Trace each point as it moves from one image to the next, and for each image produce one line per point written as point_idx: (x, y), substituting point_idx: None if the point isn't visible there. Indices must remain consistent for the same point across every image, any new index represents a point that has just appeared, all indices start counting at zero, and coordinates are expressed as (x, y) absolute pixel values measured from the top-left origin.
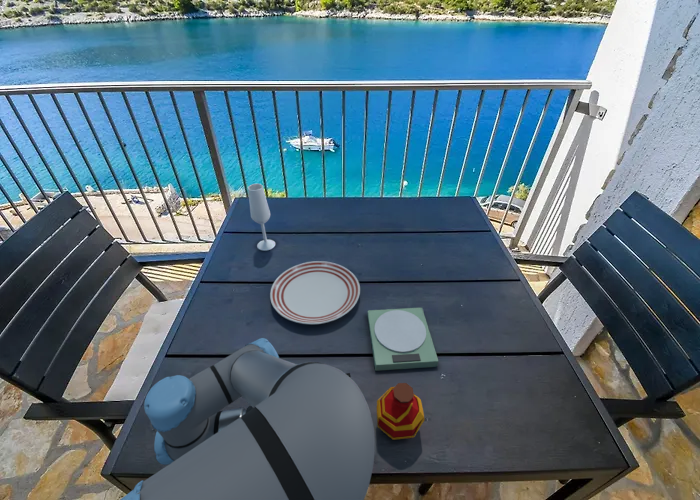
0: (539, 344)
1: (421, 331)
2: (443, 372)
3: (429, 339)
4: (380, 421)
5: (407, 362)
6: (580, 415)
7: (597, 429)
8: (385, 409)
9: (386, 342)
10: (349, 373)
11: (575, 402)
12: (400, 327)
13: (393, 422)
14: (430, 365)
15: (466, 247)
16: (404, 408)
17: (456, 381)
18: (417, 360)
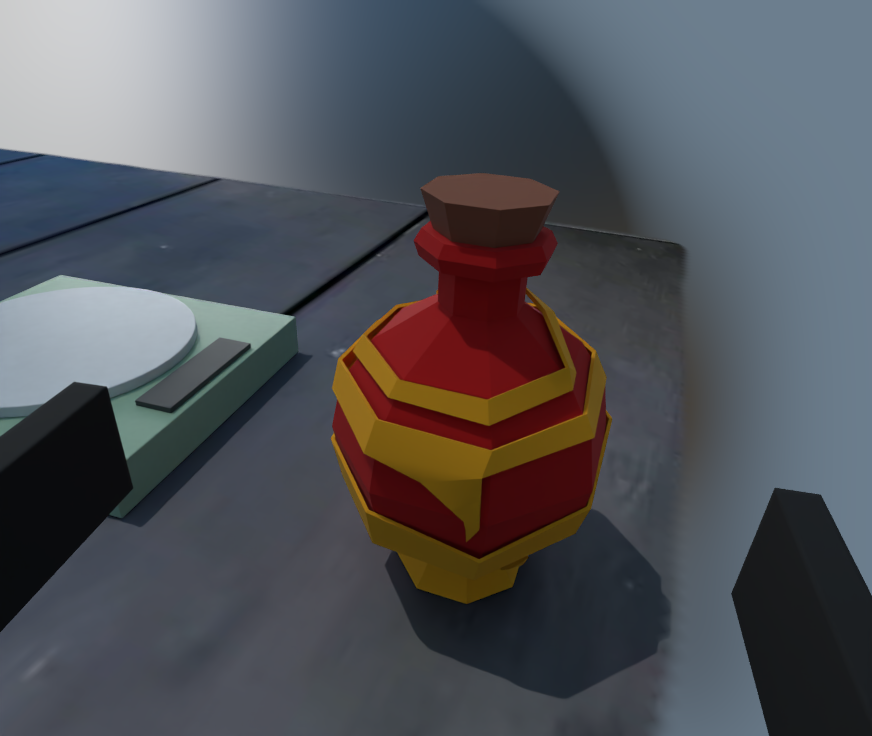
0: (391, 217)
1: (146, 299)
2: (330, 348)
3: (196, 303)
4: (496, 494)
5: (219, 377)
6: (577, 242)
7: (612, 241)
8: (473, 395)
9: (55, 389)
10: (74, 385)
11: None
12: (53, 332)
13: (561, 404)
14: (283, 353)
15: (19, 184)
16: (525, 308)
17: None
18: (242, 350)
